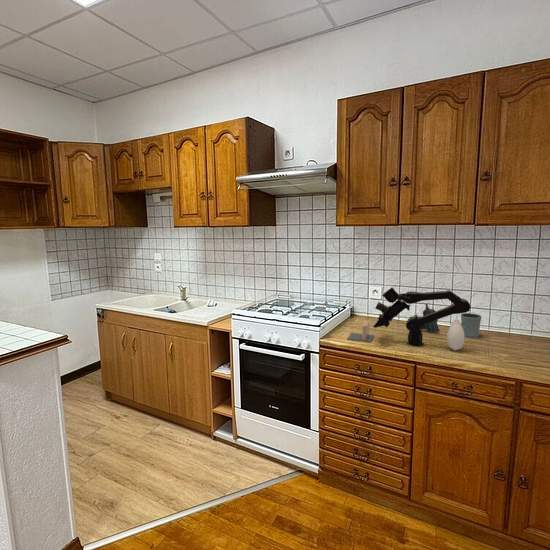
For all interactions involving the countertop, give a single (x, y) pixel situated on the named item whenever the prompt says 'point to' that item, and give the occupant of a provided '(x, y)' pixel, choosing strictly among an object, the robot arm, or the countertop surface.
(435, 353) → the countertop surface
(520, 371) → the countertop surface
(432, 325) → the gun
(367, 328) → the tile
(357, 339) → the mat
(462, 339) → the sauce bottle
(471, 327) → the grey plant pot
